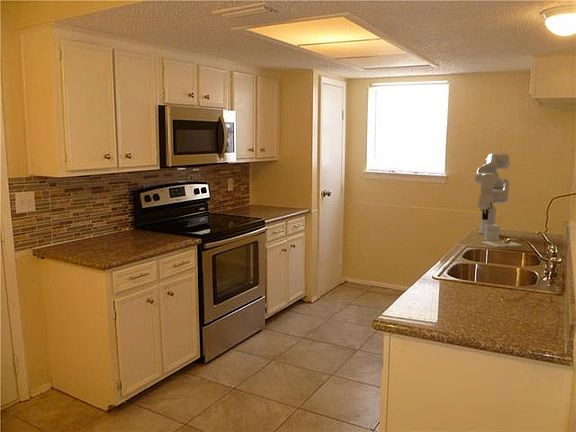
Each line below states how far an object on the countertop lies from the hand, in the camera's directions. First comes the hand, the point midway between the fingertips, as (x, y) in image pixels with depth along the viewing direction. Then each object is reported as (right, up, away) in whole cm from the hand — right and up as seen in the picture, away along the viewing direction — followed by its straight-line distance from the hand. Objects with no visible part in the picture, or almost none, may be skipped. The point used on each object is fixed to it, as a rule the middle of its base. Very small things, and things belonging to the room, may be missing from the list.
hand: (485, 219), depth 332 cm
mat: (+4, -16, -17) cm, 23 cm away
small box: (+2, -14, -5) cm, 15 cm away
